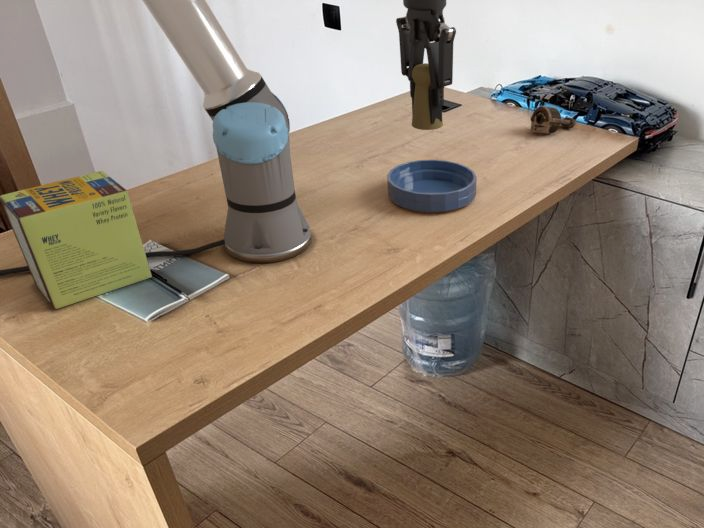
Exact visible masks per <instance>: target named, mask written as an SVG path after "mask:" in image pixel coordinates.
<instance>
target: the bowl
mask: <svg viewBox="0 0 704 528" xmlns="http://www.w3.org/2000/svg"><path fill="white" fill-rule="evenodd" d="M386 180H387V181H386V183H387V195H388V199H389V200H390V201H391V202H392V203H394V204H395V205H398V206H399V207H401V208H403V209H408V210H410V211H413V212H420V213H431V214H432V213H433V214H434V213H435V214H437V213H445V212H451V211H455V210H459V209H460V208H463V207H465V206H468V205H469V204H470V203H472V202H473V201H474V200H475V198H476V194H477V180H478V178H477V175H476V172H475V171H474V170H473V169H472V168H470V167H468V166H466V165H464V164H461V163H459V162H455V161H450V160H446V159H445V160H444V159H418V160H411V161H407V162H403V163H401V164H398V165H396V166H394V167H392V168H391V169H390V170H389V172H388V173H387V174H386Z"/></svg>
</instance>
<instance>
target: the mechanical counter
mask: <svg viewBox="0 0 704 528" xmlns="http://www.w3.org/2000/svg"><path fill="white" fill-rule="evenodd" d="M576 124H577V121H576V119H574V118H573V117H570V116H567V117H563V118H562V115H561V112H560V111H559V110H558V109H557V108H555V107H551V106H546V105H539V106H538V107H536V108H535V109H534V111H533V113H532V115H531V116H530V130H529V131H530V133H538V134H545V135H546V134H554V133H556V132H557V131H558V130H559V129H560V127H563V128H565V129H572V128H574V127H575V126H576Z"/></svg>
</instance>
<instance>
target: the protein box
mask: <svg viewBox="0 0 704 528" xmlns="http://www.w3.org/2000/svg"><path fill="white" fill-rule="evenodd" d="M0 203H1V205H2V208H3V210H4V213H5V215H6V217H7V219H8V222H9V225H10V227H11V229H12V232H13V234H14V236H15V239H16V241H17V244H18V247H19V248H20V251H21V253H22V256H23V258H24V260H25V263H26V266H28V268H29V270H30V271H29V274H30V275H31V278H32V280H33V282H34V285H35V286H36V288H38V289H39V291H40V292H41V294H42V295H43V296H44V297H45V298H46V300H47V301H48V302H49V304H50V305H51V306H52V307H53V309H54V310H59V309H61V308H64V307H67V306H70V305H73V304H76V303H79V302H82V301H85V300H88V299H92V298H94V297H97V296H100V295H103V294H106V293H109V292H112V291H114V290H118V289H121V288H124V287H127V286H130V285H133V284H136V283H139V282H142V281H145V280H148V279H151V278H152V277H153V274H152V271H151V268H150V265H149V261H148V258H147V257H146V254H145V253H146V251H145V247H144V243H143V241H142V238H141V235H140V231H139V227H138V224H137V220H136V217H135V214H134V210H133V206H132V203H131V199H130V196H129V193H128V190H127V189H126V188H125V187H123V186H122V185H121V184H120V183H118V182H117V181H116V180H114V179H113V178H112V177H111V176H110V175H108V174H107V173H106V172H104V171H103V170H99V171H93V172H90V173H87V174H83V175H79V176H75V177H71V178H65V179H61V180H57V181H54V182H48V183H44V184H41V185H38V186H34V187H29V188H25V189H20V190H17V191H13V192H9V193H5V194H1V195H0Z"/></svg>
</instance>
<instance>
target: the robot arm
mask: <svg viewBox="0 0 704 528" xmlns="http://www.w3.org/2000/svg"><path fill="white" fill-rule="evenodd" d="M402 1H403V2H402V4H403V7H405V8H406V10H407V11H406V14H405V16H402V17H397V18H396V20H395V23H396V26H397V30H398V41H399V58H400V72H401V74H402V76H403V77H404V76H405V77H406V78H407V80H408V81H409V95H410V98H411V113H412V116H413V105H414V94H415V82H414V81H413V78H412V71H413V69H414V67H415V66H416V65H418V64H424V59H425V50H426V57H427V63H428V64H429V71H430V78H431V86H429V88H428V94H429V111H430V120H431V124H434V122H435V119H436V118H437V119H439V120H440V122H441V121H443V106H444V103H445V102H444V101H445V87H448V86H450V85H453V80H454V79H453V77H454V76H453V73H454V42H455V37H456V34H457V28H456V27H454V26H453V27H449V25H447V24H446V23H445V21H446V20H445V17H444V15H443V14H444V9H445V8H446V7H447V0H402ZM142 2H143V4H144V5H145V7H146V8H147V10H148V11H149V12H150V14H151V15H152V17H153V19H154V20H155V22H156V23H157V24H158V27H160V29H161V30H162V32H163V33H164V35H165V37H166V38H167V39H168V41H169V42H170V44H171V46H172V47H173V48H174V50H175V52H176V53H177V54H178V56H179V57H180V59H181V60H182V62H183V63H184V65H185V66H186V68H187V70H188V71H189V72H190V74H191V75H192V77H193V78H194V80H195V82H196V83H197V84H198V86H199V87H200V89H201V90H202V92H203V95H204V97H203V102H202V108H203V109H204V111H205V112H206V113H207V115H208V116H209V118H210V119H211V121H212V140H213V143H214V145H215V148H216V153H217V157H218V164H219V168H220V173H221V179H222V184H223V189H224V193H225V194H224V195H225V198H226V203H227V213H226V219H225V225H224V233H223V239H220V240H217V241H216V240H215V241H213V242H210V243H207V244H204V245H201V246H199V247H195V248H194V247H193V248H189V249H188V248H187V249H182V250H161V251H147V252H146V251H145V254H146V257H147V259H148V258H159V257H160V258H163V257H165V258H166V257H181V256H189V255H195V254H199V253H202V252H205V251H208V250H211V249H214V248H217V247H221V246H224V249H225V250H226V253H227V254H228V255H229V256H231V257H233V258H234V259H236V260H239V261H242V262H248V263H255V264H256V263H257V264H265V263H276V262H281V261H282V262H283V261H285V260H289V259H291V258H294V257H296V256H299V255H301V254H302V253H304V252H305V251H306V250H307V249H308V248H309V247H311V244H312V239H313V237H312V229H311V228H310V225H309V223H308V221H307V219H306V216H305V214H304V212H303V210H302V208H301V207H300V204H299V203H298V200H297V196H296V195H297V194H296V188H295V187H296V186H295V180H294V172H293V165H292V158H291V157H292V155H291V143H290V142H291V141H290V131H291V130H290V129H291V126H290V125H291V124H290V119H289V113H288V111H287V108H286V106H285V105H284V103H283V102H282V101H281V99H280V98H279V97H278V96H277V95H276V94H275V93H274V92H272V91H271V89H270V87H269V86H268V84H267V83H266V81H265V79H264V78H263V76H262V75H261V73H260V72H257V71H254V70H251V69H249V68H247V66H246V65H245V63H244V61H243V59H242V58H241V56H240V55H239V53H238V51H237V50H236V48H235V47H234V45H233V43H232V42H231V40H230V39H229V37H228V35H227V34H226V31H225V30H224V28H223V26H222V25H221V24H220V22H219V20H218V19H217V17H216V16H215V14H214V12H213V11H212V9H211V7H210V5H209V4H208V3H207V1H206V0H142ZM437 80H438V81H437ZM412 116H411V117H412ZM27 272H30V270H29V268H28V265H25V266H17V267H11V268H4V269H0V277H1V276H7V275H13V274H20V273H27Z"/></svg>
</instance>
